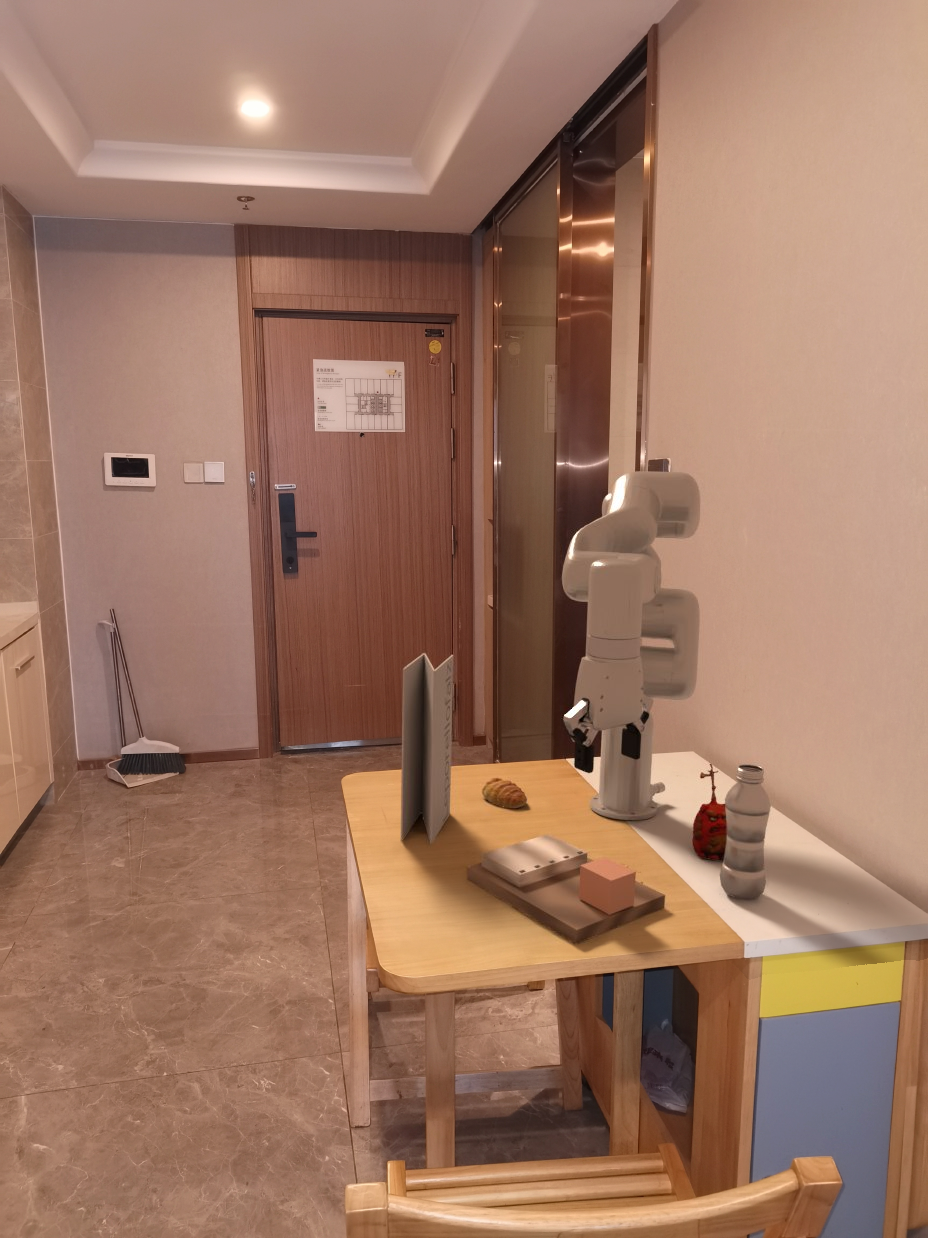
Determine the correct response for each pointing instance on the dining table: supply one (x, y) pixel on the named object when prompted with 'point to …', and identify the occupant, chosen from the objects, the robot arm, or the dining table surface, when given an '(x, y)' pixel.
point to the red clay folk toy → (710, 827)
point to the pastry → (504, 793)
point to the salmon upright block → (607, 885)
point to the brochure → (426, 744)
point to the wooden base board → (554, 887)
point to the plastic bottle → (745, 835)
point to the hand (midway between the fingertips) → (607, 763)
